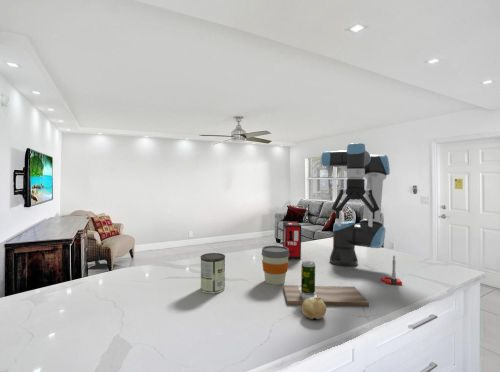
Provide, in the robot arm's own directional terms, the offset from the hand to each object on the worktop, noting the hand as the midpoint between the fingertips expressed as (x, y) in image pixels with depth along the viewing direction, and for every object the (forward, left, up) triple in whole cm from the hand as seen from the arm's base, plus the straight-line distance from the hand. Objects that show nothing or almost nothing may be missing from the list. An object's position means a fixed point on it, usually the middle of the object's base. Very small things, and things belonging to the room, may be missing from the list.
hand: (354, 226), depth 129 cm
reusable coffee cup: (-2, -35, -26) cm, 44 cm away
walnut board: (+15, -17, -26) cm, 34 cm away
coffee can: (+9, -62, -26) cm, 68 cm away
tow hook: (-6, +19, -27) cm, 33 cm away
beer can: (+15, -23, -25) cm, 37 cm away
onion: (+32, -24, -26) cm, 48 cm away
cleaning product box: (-48, -22, -26) cm, 59 cm away
